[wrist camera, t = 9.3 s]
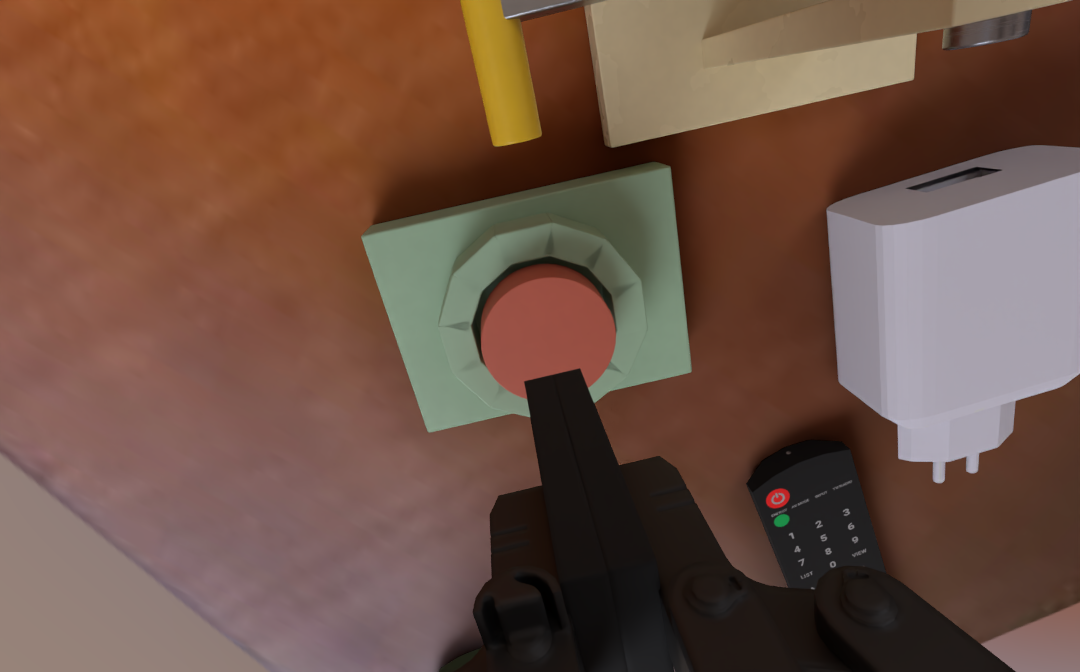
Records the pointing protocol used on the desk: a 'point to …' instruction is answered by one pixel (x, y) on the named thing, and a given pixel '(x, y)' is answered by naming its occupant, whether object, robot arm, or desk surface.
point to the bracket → (766, 54)
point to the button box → (519, 241)
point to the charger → (959, 297)
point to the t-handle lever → (507, 62)
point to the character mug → (459, 662)
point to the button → (545, 327)
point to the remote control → (814, 511)
